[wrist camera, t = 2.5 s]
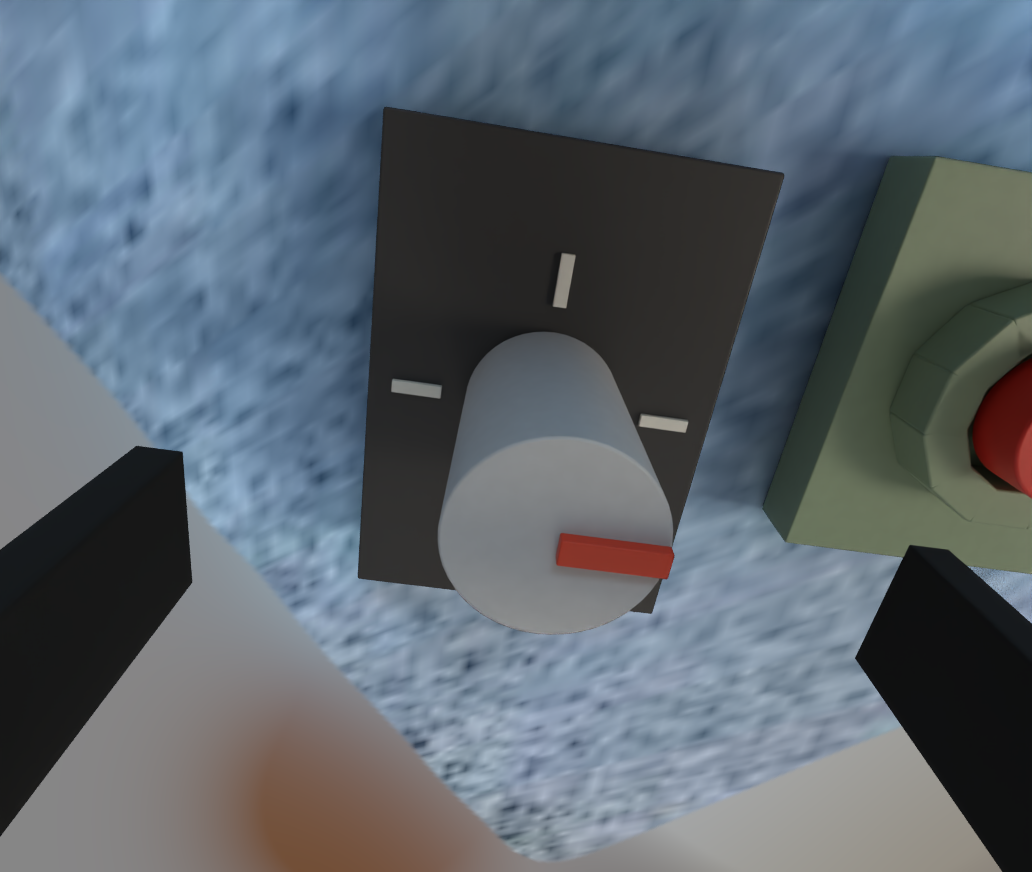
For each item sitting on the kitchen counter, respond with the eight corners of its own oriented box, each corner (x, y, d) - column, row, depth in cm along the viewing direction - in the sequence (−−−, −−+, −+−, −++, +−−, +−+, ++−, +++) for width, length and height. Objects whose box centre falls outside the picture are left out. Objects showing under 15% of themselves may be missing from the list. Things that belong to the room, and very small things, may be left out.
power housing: (889, 155, 18) (983, 156, 14) (1207, 209, 19) (1375, 223, 15) (761, 508, 23) (807, 575, 19) (1016, 542, 24) (1107, 613, 20)
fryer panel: (403, 113, 18) (381, 105, 15) (745, 170, 18) (789, 173, 15) (375, 529, 23) (356, 582, 20) (636, 562, 24) (653, 617, 21)
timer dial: (457, 462, 19) (424, 632, 12) (474, 320, 17) (448, 427, 10) (600, 481, 19) (645, 658, 12) (633, 343, 17) (706, 462, 11)
